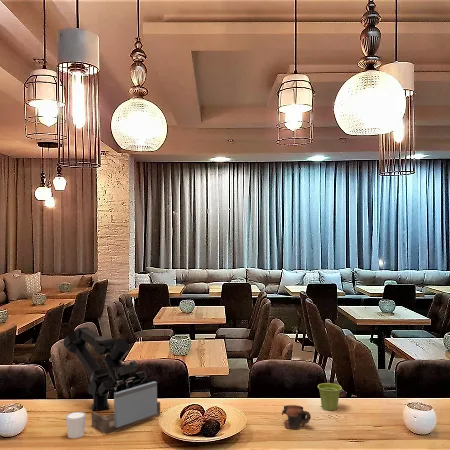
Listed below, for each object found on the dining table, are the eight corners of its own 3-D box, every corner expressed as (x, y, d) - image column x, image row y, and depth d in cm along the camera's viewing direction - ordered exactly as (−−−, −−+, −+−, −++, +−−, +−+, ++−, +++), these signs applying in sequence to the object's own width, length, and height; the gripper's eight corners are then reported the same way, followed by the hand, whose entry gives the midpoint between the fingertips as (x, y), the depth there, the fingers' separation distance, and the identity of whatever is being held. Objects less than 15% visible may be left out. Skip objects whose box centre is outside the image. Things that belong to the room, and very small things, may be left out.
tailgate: (114, 426, 177) (114, 393, 177) (154, 412, 190) (154, 381, 190) (116, 427, 176) (116, 394, 176) (157, 413, 189) (157, 382, 189)
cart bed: (91, 426, 182) (91, 412, 182) (144, 408, 199) (144, 396, 199) (106, 434, 175) (106, 420, 175) (160, 415, 192) (160, 402, 192)
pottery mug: (276, 428, 181) (276, 405, 185) (289, 432, 187) (289, 409, 191) (305, 427, 174) (305, 403, 179) (318, 431, 181) (317, 407, 185)
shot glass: (80, 439, 171) (80, 419, 171) (61, 438, 172) (61, 418, 172) (89, 431, 178) (89, 412, 177) (71, 430, 179) (71, 410, 179)
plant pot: (323, 402, 206) (323, 381, 206) (345, 407, 200) (345, 385, 200) (313, 409, 198) (313, 387, 198) (335, 414, 192) (335, 392, 192)
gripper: (102, 360, 182) (119, 397, 174) (143, 350, 195) (161, 384, 187) (91, 377, 187) (107, 413, 180) (132, 366, 201) (148, 400, 193)
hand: (132, 402), depth 185 cm, fingers closed
